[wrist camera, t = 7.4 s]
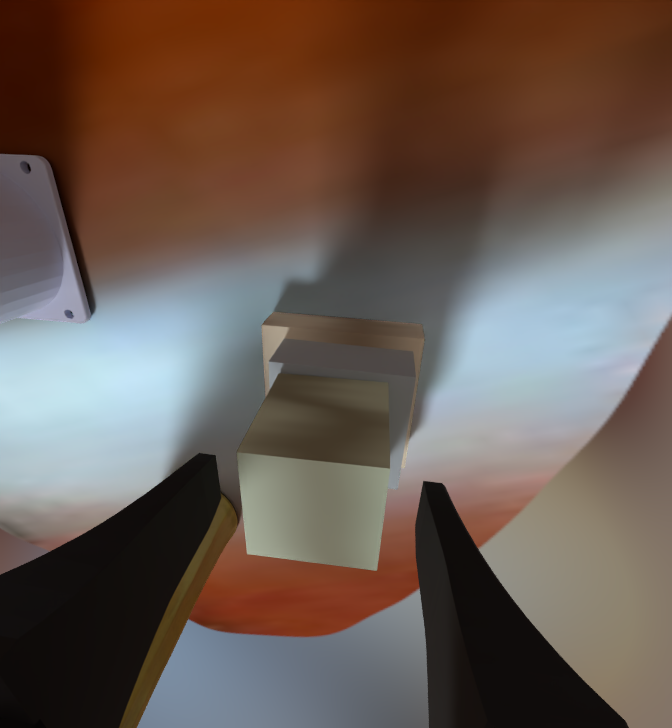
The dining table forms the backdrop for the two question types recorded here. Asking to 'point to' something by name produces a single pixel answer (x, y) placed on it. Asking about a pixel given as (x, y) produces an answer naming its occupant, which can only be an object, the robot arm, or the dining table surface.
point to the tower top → (357, 366)
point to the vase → (180, 610)
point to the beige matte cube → (317, 471)
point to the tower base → (343, 339)
